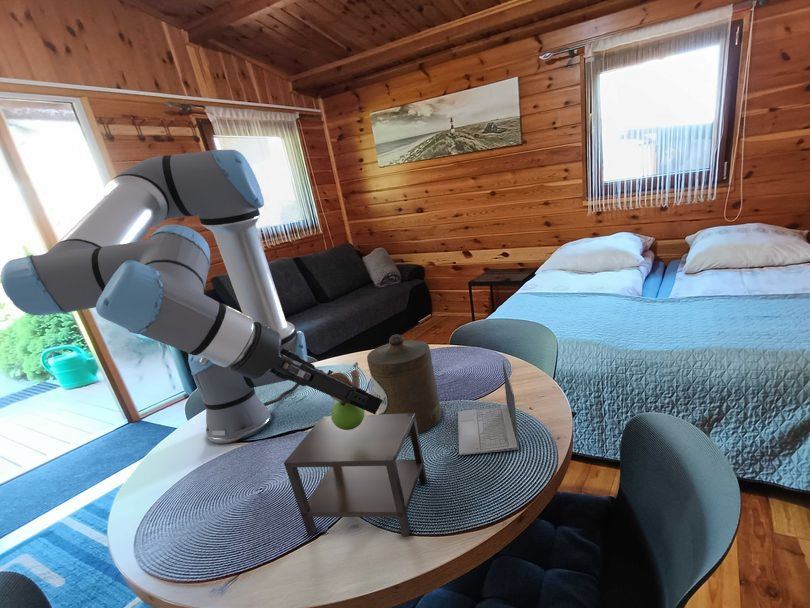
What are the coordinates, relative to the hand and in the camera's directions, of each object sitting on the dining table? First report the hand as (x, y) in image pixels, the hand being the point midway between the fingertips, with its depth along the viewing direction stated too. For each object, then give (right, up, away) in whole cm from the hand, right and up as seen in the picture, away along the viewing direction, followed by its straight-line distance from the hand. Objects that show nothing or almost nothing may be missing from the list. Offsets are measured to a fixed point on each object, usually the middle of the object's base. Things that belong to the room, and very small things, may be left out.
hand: (369, 401), depth 75 cm
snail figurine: (-2, -4, -1) cm, 5 cm away
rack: (-1, -19, +4) cm, 20 cm away
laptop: (+21, -9, +23) cm, 33 cm away
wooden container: (+3, -8, +32) cm, 33 cm away
